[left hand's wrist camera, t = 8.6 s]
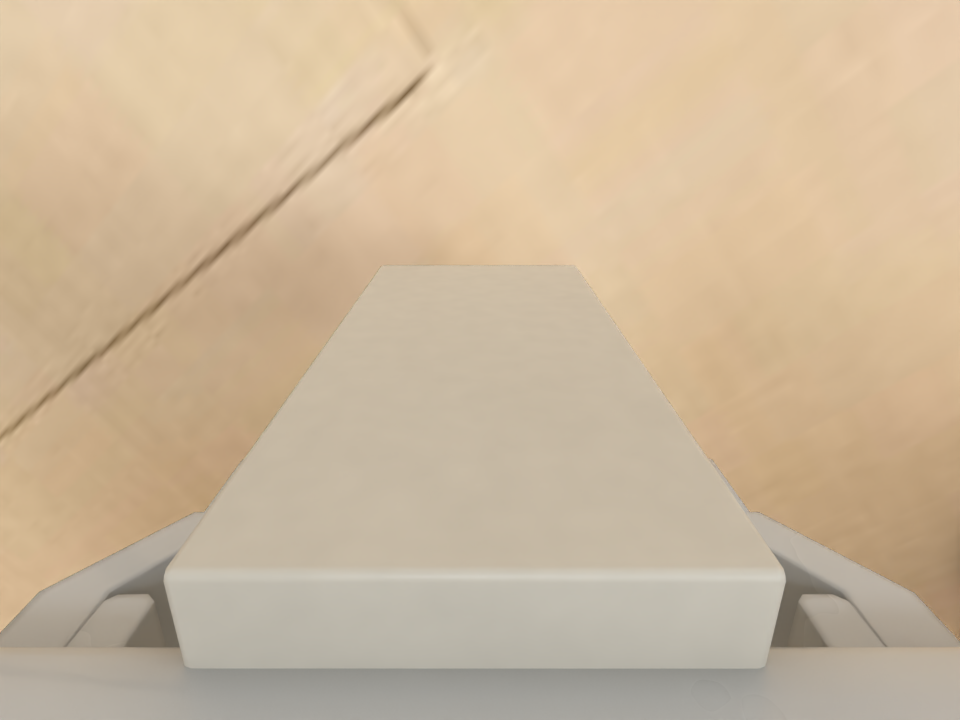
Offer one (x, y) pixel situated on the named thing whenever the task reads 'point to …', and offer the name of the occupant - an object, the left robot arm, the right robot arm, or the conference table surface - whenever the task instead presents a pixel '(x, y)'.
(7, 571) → the conference table surface
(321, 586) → the brick
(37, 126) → the conference table surface
